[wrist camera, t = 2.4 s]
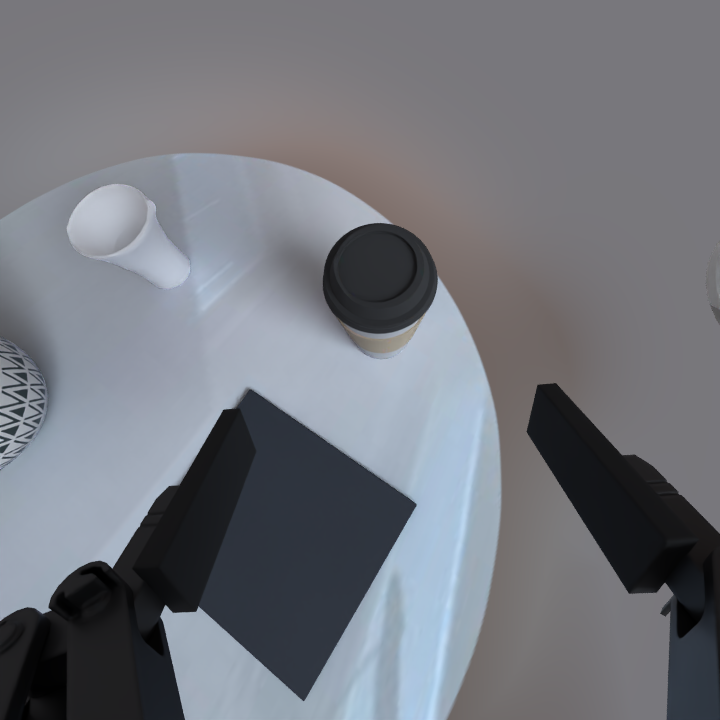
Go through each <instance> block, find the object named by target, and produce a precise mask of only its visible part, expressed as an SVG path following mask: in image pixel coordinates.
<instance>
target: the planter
mask: <svg viewBox="0 0 720 720" xmlns="http://www.w3.org/2000/svg"><path fill="white" fill-rule="evenodd" d="M47 406H48V392H47V387H46V383H45V380H44V378H43V376H42V373H41V371H40V370H39V368H38V366H37V365H36V364H35V362H34V361H33V360H32V359H31V358H30V356H29V355H28V354H27V353H26V352H24V351H23V350H22V349H21V348H19V347H18V346H16V345H15V344H14V343H12V342H11V341H9V340H7V339H5V338H4V337H2V336H0V470H1V469H2V468H4V467H5V466H7V465H8V464H9V463H11V462H12V461H13V460H14V459H15V458H16V457H18V456H19V455H20V454H21V453H22V452H23V451H24V450H25V449H26V448H27V447H28V445H29V444H30V443H31V442H32V440H33V439H34V438H35V436H36V435H37V433H38V432H39V430H40V428H41V426H42V424H43V422H44V419H45V416H46V412H47Z"/></svg>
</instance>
